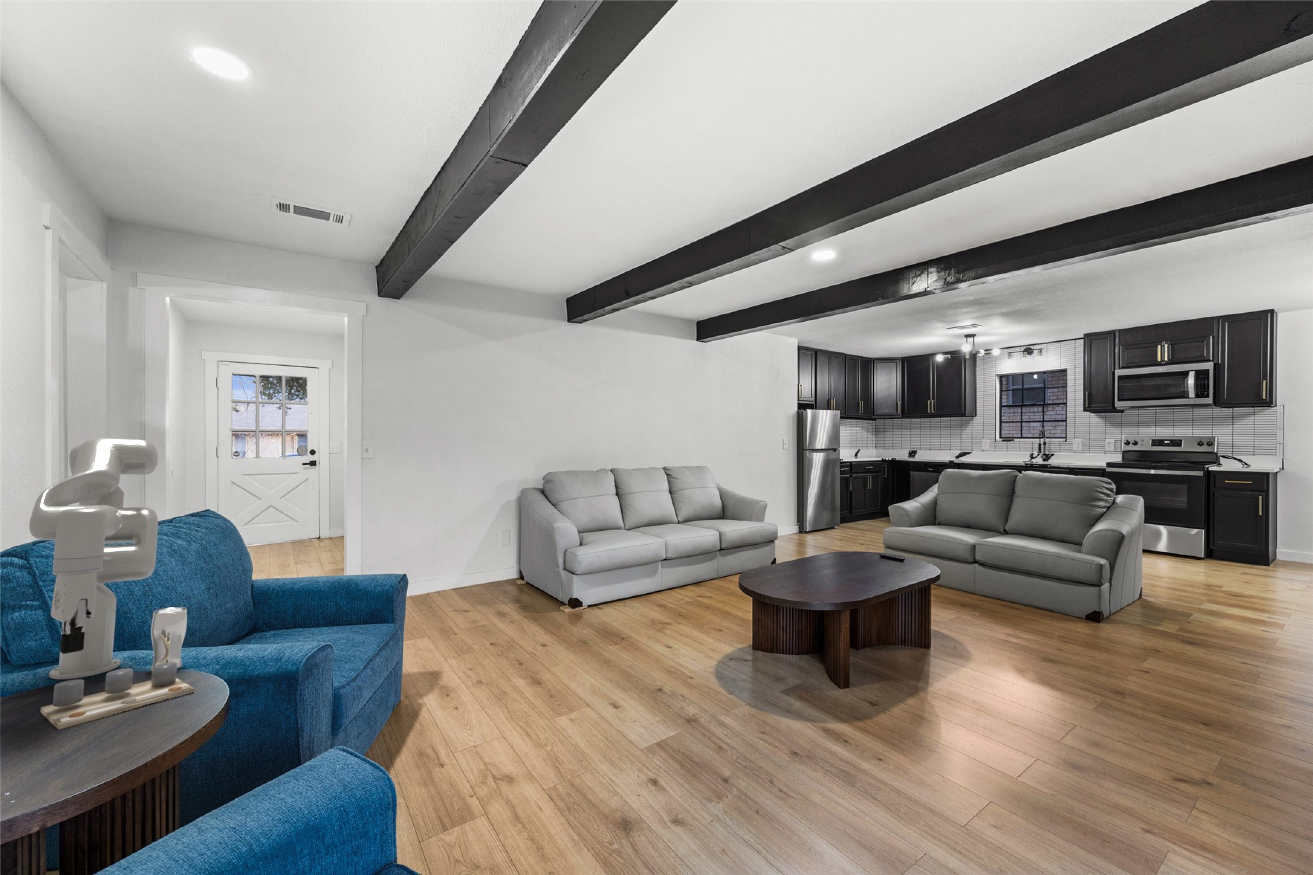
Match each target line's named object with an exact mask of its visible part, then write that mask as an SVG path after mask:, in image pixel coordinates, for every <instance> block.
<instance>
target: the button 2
mask: <svg viewBox="0 0 1313 875" xmlns="http://www.w3.org/2000/svg"><path fill="white" fill-rule="evenodd" d="M177 670H178V669H177V663H174V662H170V663H163V664H159V665H156V666H154V667H153V668H152V672H151V680H152V682H151V686H164V685H168V684H172V683H174V682H175V681H176V678H177Z"/></svg>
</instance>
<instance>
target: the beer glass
mask: <svg viewBox="0 0 1313 875" xmlns="http://www.w3.org/2000/svg"><path fill="white" fill-rule="evenodd" d="M187 613H188V610H187V607H183V606H177V607H176V606H175V607H166V608H160V609H158V610H154V611H153V615H152V620H151V630H150V634H151V644H152V649H153V650H152V651H153V661H152V665H151V667H150V672H151V673H152V668H153V667H154V666H156V665H159V664H163V663H170V662H174V663H177V670H178V669H180V668H181V667H182V666H183V663H182V662H183V661H182V657H181V654H182V647H183V642H184V639H185V637H186V632H187V624H188V623H187V622H188V616H187V615H188V614H187Z"/></svg>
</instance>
